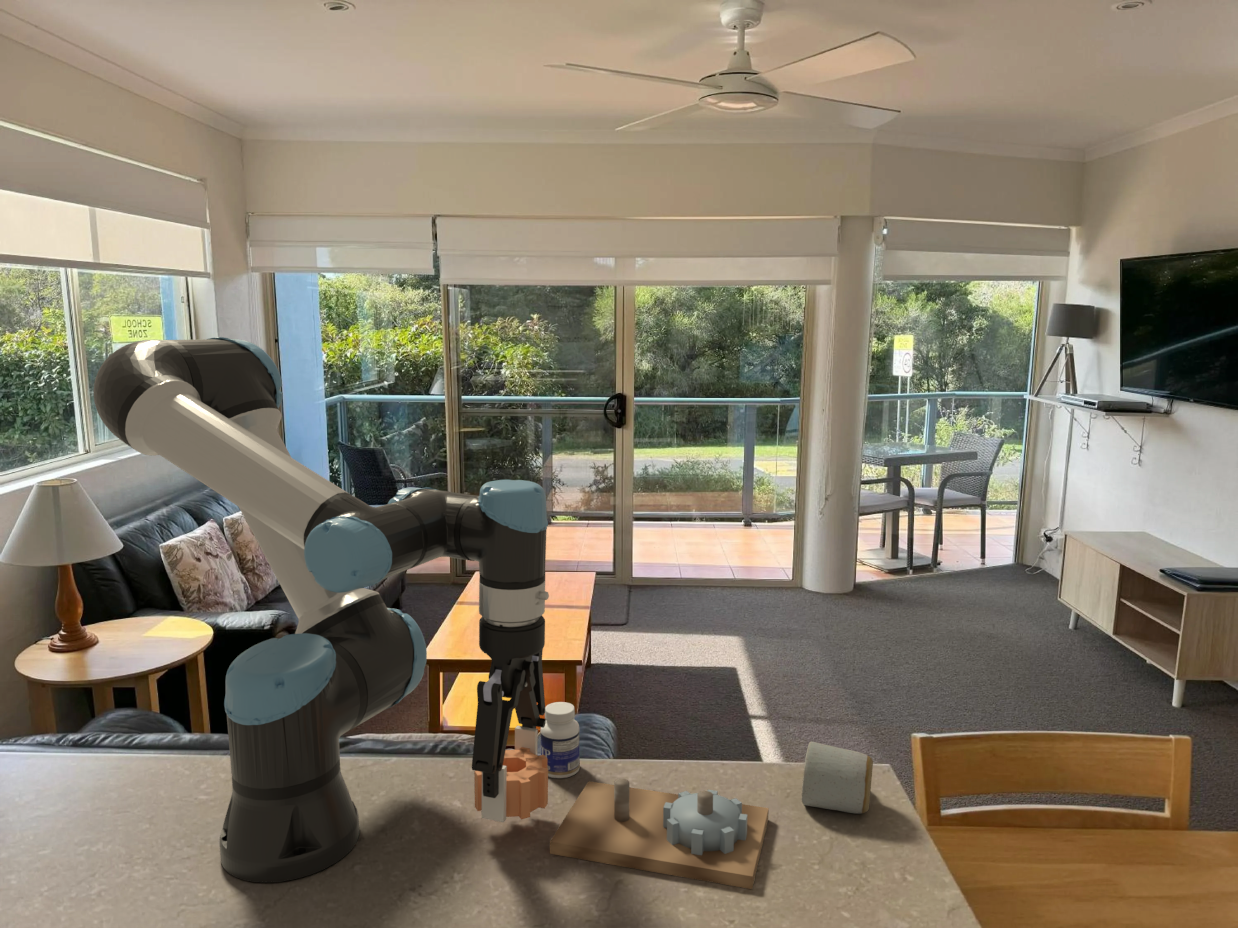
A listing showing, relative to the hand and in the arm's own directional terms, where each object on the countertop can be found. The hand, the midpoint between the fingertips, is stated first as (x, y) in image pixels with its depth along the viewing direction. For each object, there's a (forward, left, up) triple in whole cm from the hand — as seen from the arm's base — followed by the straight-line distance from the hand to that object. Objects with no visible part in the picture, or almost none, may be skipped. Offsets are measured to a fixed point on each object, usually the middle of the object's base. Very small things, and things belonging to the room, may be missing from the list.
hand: (510, 796), depth 105 cm
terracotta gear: (0, 0, 0) cm, 0 cm away
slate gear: (+23, +3, -2) cm, 23 cm away
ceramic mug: (+37, +17, -4) cm, 41 cm away
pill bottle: (+1, +15, -4) cm, 16 cm away
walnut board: (+18, +3, -4) cm, 19 cm away
